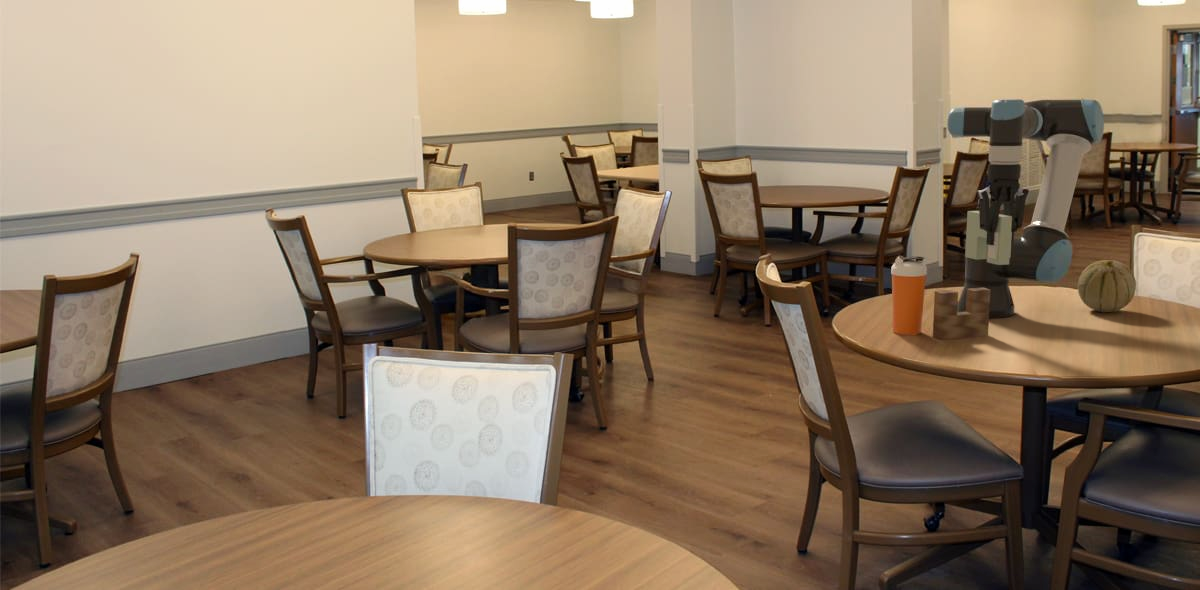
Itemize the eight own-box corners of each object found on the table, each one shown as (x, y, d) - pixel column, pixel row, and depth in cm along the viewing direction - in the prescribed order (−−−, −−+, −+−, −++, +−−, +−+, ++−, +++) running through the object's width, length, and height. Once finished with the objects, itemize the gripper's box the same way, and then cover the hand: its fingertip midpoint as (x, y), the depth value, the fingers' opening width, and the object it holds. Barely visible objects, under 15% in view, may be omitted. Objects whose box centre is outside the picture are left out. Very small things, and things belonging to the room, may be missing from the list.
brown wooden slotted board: (981, 332, 263) (983, 287, 260) (987, 335, 260) (990, 289, 257) (932, 336, 259) (934, 291, 257) (939, 339, 257) (941, 293, 254)
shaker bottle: (926, 336, 260) (929, 259, 256) (890, 335, 262) (893, 259, 258) (922, 328, 269) (925, 254, 265) (887, 327, 271) (890, 254, 267)
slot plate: (965, 256, 264) (967, 211, 262) (975, 256, 265) (977, 210, 262) (998, 264, 251) (1001, 216, 248) (1009, 264, 251) (1012, 216, 249)
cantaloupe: (1116, 305, 290) (1120, 253, 287) (1145, 316, 276) (1149, 262, 273) (1065, 306, 290) (1069, 255, 287) (1091, 318, 275) (1095, 264, 272)
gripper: (1022, 161, 254) (1017, 253, 258) (966, 163, 250) (961, 257, 254) (1042, 162, 247) (1036, 257, 251) (985, 165, 243) (980, 261, 247)
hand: (999, 257), depth 253 cm, fingers closed on slot plate, 3 cm apart
